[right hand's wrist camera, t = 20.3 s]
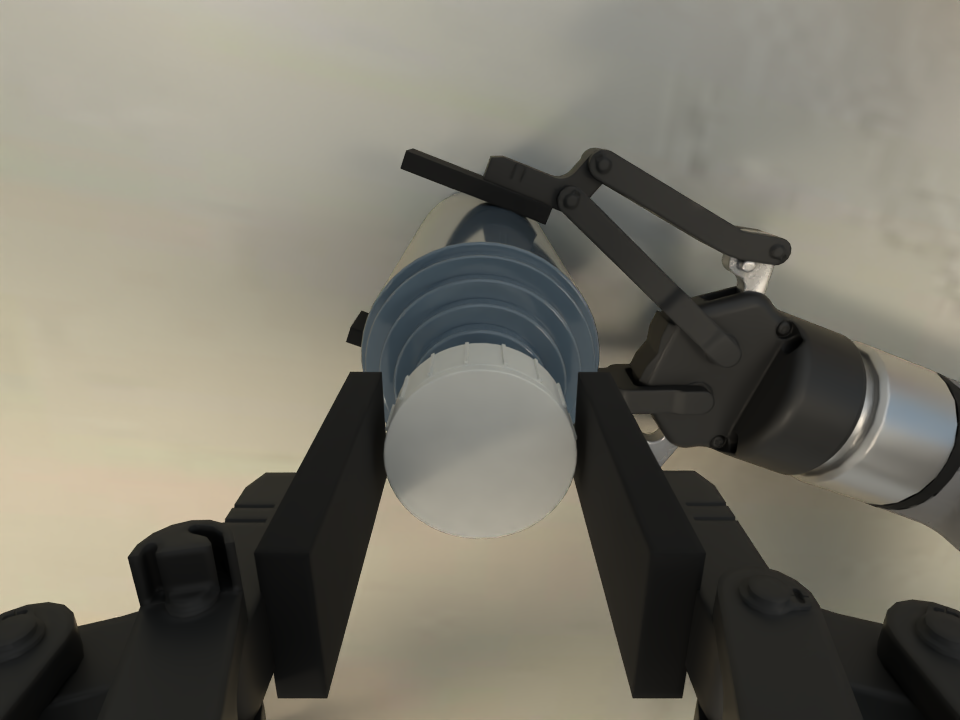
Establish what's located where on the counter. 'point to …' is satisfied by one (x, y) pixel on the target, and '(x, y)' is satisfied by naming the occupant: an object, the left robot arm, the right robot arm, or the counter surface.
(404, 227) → the counter surface
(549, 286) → the bottle
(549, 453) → the cap
